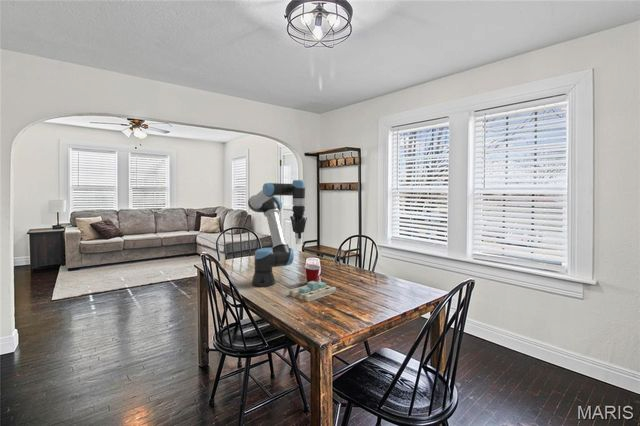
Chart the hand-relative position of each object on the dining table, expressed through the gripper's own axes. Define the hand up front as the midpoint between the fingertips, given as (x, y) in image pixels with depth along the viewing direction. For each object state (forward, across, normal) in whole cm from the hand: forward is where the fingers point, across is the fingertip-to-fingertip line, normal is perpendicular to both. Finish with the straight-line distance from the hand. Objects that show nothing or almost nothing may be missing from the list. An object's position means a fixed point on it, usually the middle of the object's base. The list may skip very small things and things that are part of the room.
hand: (298, 243), depth 197 cm
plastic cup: (+30, -4, +17) cm, 34 cm away
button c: (+28, +11, +9) cm, 32 cm away
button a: (+28, +11, -5) cm, 31 cm away
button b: (+26, +11, +2) cm, 29 cm away
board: (+29, +11, +2) cm, 31 cm away
